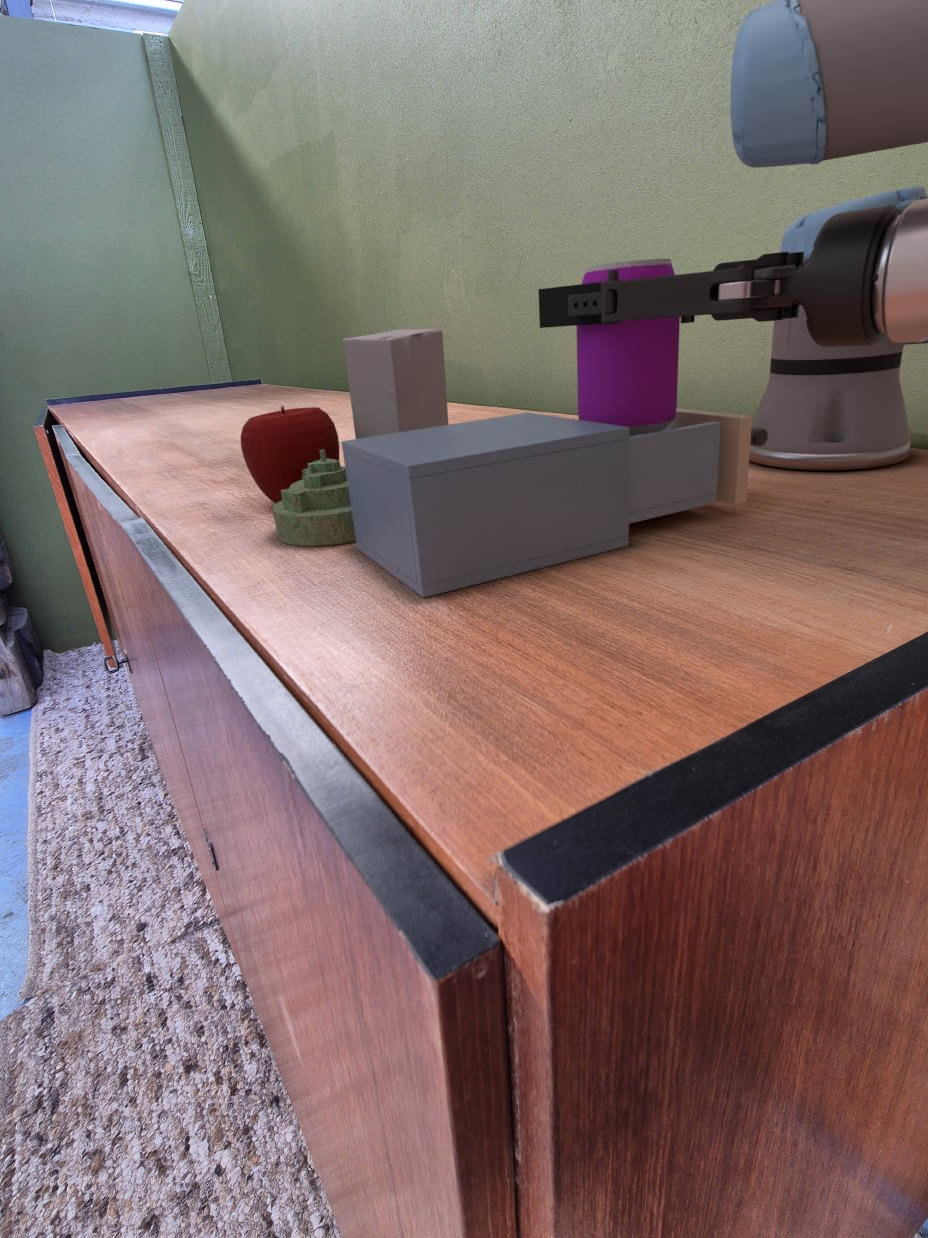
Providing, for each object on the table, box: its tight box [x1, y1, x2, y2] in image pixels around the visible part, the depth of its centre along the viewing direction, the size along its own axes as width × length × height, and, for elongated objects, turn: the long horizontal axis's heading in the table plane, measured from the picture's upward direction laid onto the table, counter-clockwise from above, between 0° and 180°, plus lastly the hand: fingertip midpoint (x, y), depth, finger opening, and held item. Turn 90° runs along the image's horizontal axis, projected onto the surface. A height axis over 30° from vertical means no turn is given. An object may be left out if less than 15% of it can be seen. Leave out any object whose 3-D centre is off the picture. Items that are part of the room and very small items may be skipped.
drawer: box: [629, 407, 768, 525], centre depth 59 cm, size 20×12×7 cm, turn 116°
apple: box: [240, 405, 340, 505], centre depth 72 cm, size 10×10×10 cm
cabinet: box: [340, 412, 630, 599], centre depth 53 cm, size 17×14×9 cm
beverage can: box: [575, 258, 681, 435], centre depth 55 cm, size 8×8×12 cm
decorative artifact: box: [272, 450, 356, 547], centre depth 62 cm, size 10×7×10 cm
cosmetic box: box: [342, 328, 450, 439], centre depth 72 cm, size 8×7×16 cm
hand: (574, 305), depth 57 cm, fingers closed on beverage can, 8 cm apart
